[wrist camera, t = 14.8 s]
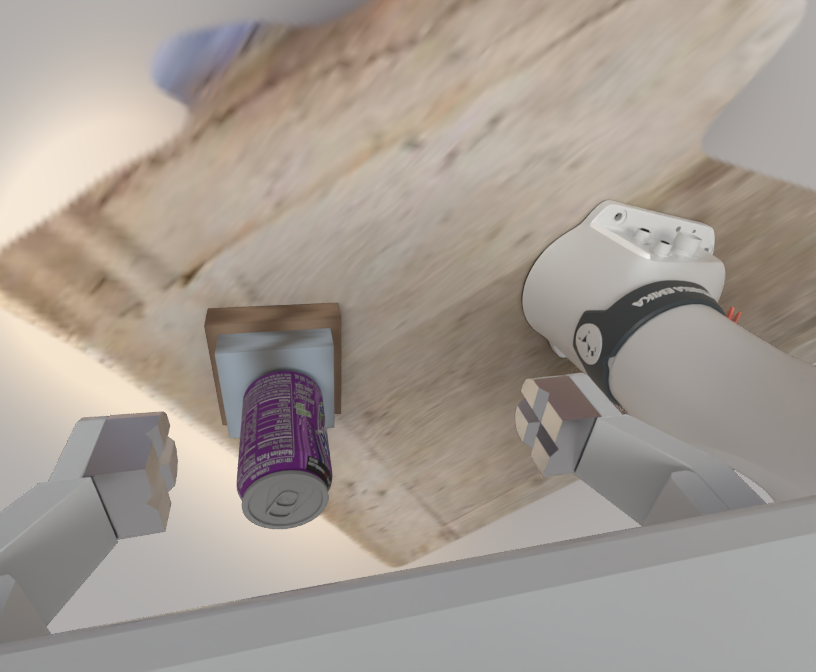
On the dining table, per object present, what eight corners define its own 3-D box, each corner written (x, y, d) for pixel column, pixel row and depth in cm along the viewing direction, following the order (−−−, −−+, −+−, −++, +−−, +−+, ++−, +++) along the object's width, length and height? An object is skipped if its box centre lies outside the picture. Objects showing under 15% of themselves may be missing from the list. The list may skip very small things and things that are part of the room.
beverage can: (303, 430, 47) (311, 538, 38) (232, 414, 44) (220, 527, 34) (334, 377, 45) (351, 479, 35) (260, 356, 41) (256, 461, 32)
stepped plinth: (337, 302, 47) (344, 336, 42) (337, 395, 54) (344, 433, 49) (208, 308, 44) (200, 345, 39) (225, 405, 51) (220, 447, 46)
